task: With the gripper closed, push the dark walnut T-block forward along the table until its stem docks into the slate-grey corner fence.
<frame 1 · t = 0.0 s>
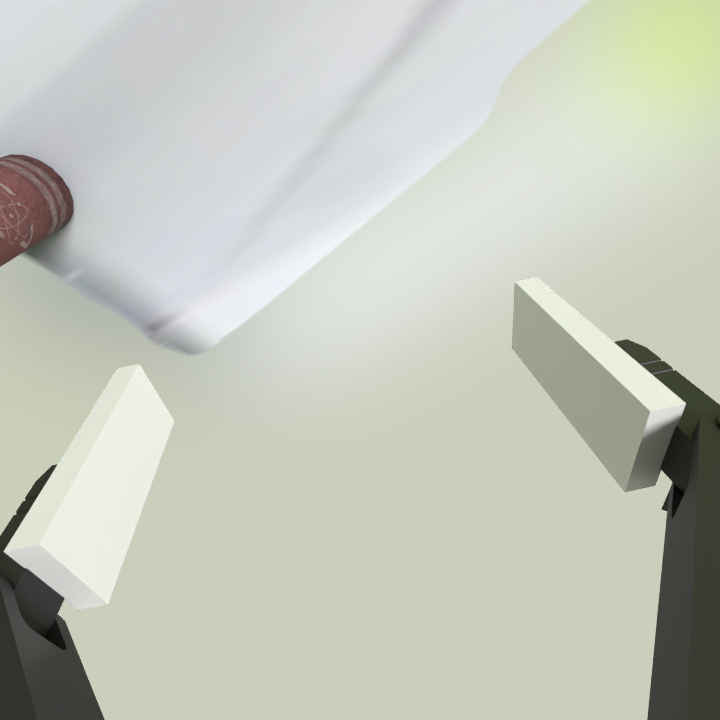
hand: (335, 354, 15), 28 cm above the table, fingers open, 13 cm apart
can: (35, 191, 35), on the table
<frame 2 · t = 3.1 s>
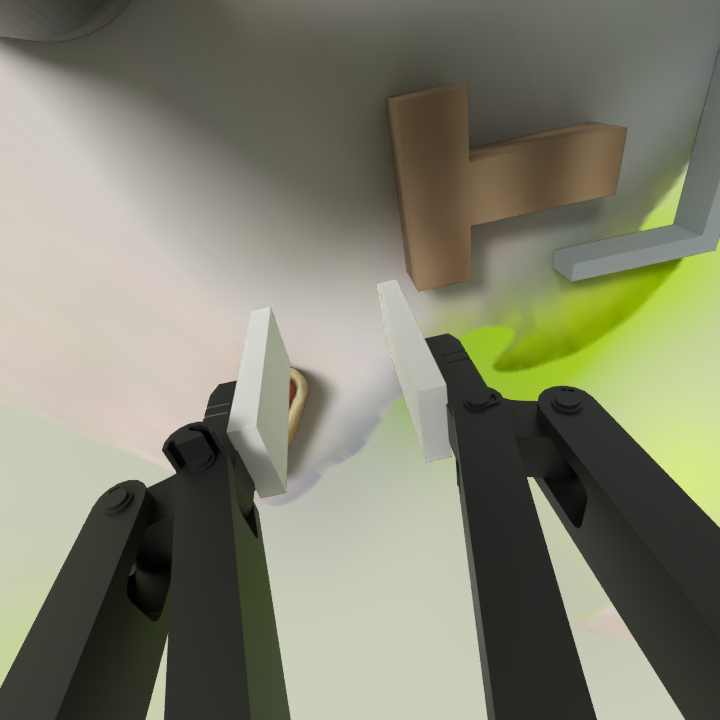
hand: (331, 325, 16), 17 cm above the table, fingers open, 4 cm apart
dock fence: (704, 141, 30), on the table
food: (268, 410, 40), on the table
t block: (424, 188, 30), on the table
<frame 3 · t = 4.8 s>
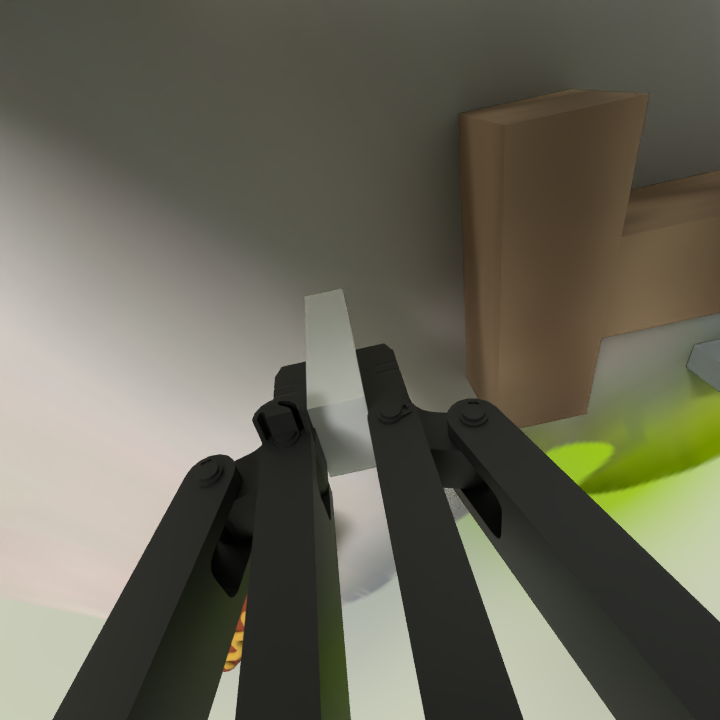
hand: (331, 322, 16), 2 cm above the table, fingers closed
food: (255, 550, 28), on the table
t block: (508, 261, 18), on the table
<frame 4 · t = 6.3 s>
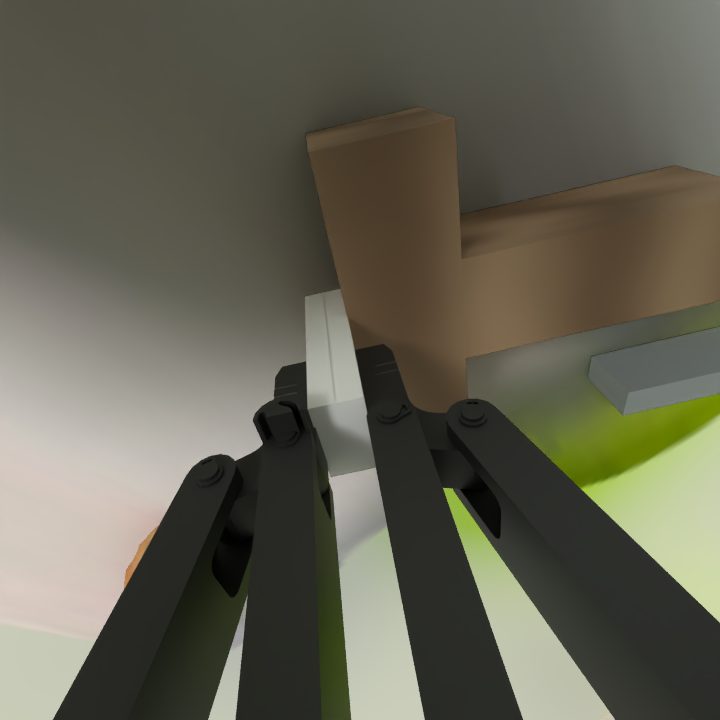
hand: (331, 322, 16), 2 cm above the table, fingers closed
food: (179, 562, 28), on the table
t block: (387, 278, 18), on the table, touching gripper
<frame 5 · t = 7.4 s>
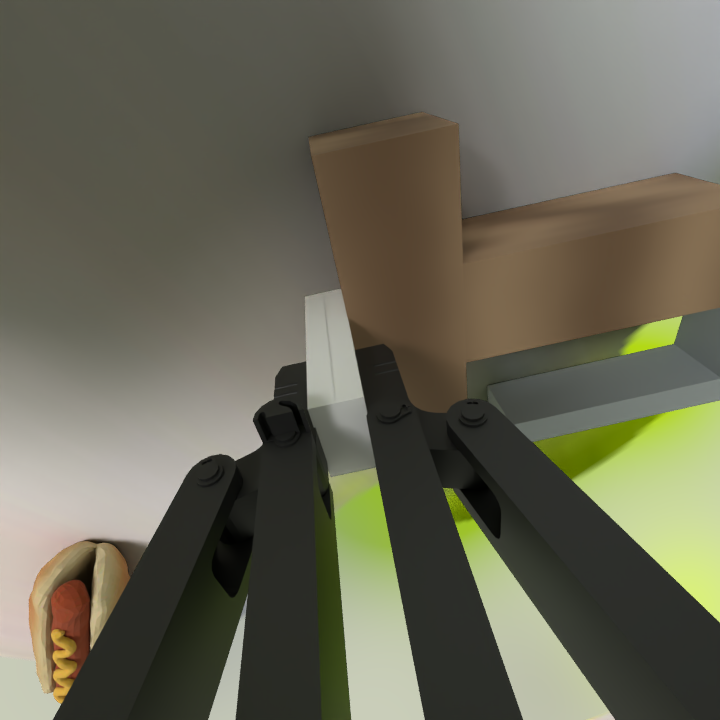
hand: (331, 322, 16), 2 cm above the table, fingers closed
food: (98, 583, 28), on the table
t block: (388, 282, 18), on the table, touching gripper
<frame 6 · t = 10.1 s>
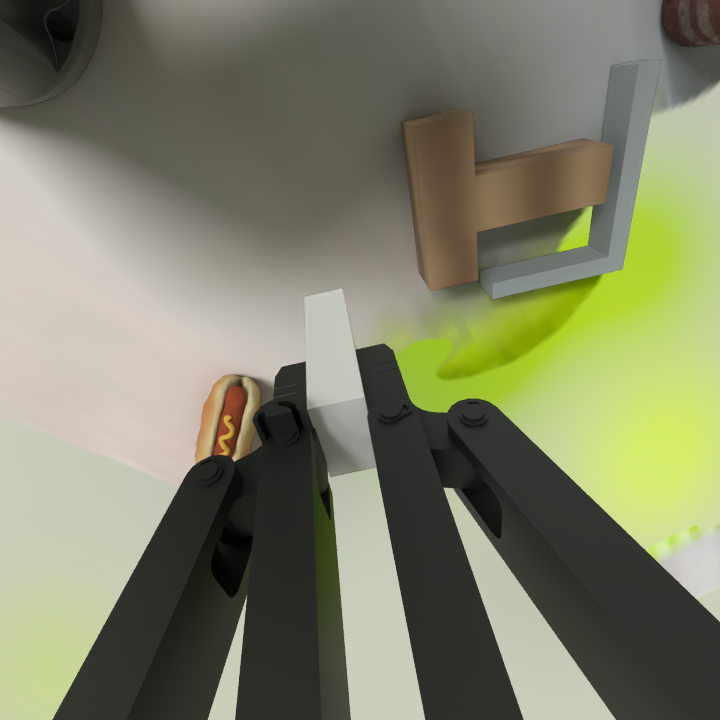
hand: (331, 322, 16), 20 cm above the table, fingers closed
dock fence: (605, 173, 34), on the table
food: (231, 416, 44), on the table
t block: (434, 199, 34), on the table
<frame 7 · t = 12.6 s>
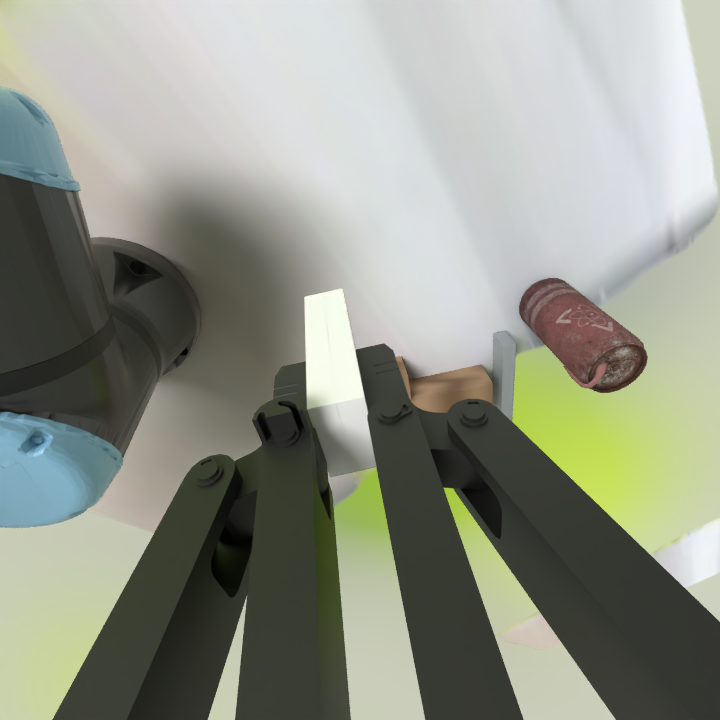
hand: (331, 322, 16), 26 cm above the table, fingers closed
can: (540, 300, 49), on the table
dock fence: (498, 379, 54), on the table
t block: (391, 396, 54), on the table
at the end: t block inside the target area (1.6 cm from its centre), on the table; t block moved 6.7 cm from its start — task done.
